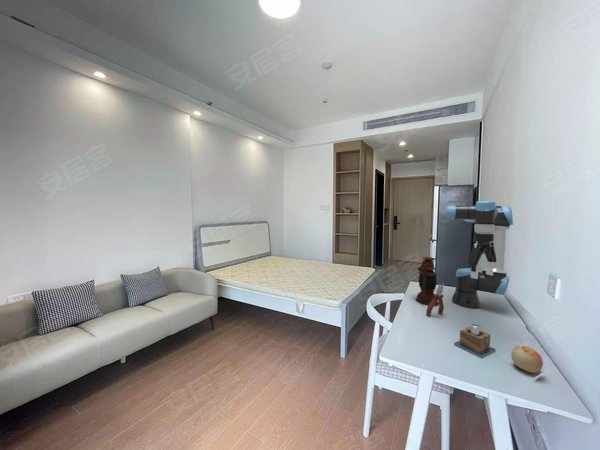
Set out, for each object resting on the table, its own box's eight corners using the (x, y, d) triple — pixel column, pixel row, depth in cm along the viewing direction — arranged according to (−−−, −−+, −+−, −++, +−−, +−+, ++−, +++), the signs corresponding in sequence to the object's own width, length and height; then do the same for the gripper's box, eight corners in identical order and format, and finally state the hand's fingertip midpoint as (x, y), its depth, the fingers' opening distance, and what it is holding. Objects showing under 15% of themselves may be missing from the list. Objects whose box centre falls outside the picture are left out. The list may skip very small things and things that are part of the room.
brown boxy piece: (469, 339, 112) (470, 326, 112) (489, 347, 105) (490, 334, 104) (459, 343, 108) (460, 330, 108) (479, 352, 101) (480, 339, 101)
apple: (527, 362, 97) (528, 343, 96) (549, 377, 88) (550, 356, 87) (504, 361, 97) (505, 342, 97) (523, 376, 88) (525, 355, 88)
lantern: (434, 309, 148) (436, 261, 146) (411, 303, 158) (412, 258, 156) (442, 301, 161) (443, 257, 159) (420, 296, 170) (421, 254, 169)
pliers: (436, 284, 133) (432, 282, 135) (428, 317, 137) (424, 314, 139) (450, 283, 137) (446, 281, 139) (443, 314, 141) (439, 312, 143)
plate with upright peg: (468, 339, 114) (469, 318, 113) (495, 351, 104) (496, 328, 104) (454, 344, 109) (455, 323, 108) (481, 358, 99) (482, 334, 99)
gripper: (488, 231, 125) (486, 271, 126) (460, 233, 114) (458, 277, 115) (506, 232, 118) (504, 275, 120) (478, 234, 107) (476, 281, 108)
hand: (481, 276), depth 117 cm, fingers open, 13 cm apart
